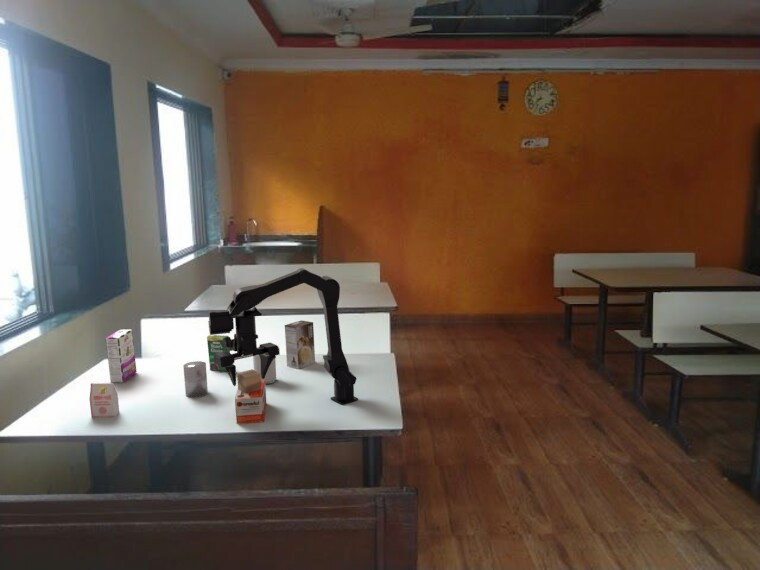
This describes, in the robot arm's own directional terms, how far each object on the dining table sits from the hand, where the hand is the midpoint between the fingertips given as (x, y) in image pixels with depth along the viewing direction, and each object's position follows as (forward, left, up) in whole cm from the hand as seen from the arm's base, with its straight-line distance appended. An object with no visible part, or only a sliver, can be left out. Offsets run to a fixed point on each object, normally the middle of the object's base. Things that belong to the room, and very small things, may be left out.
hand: (248, 382), depth 178 cm
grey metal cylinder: (+27, +6, -10) cm, 29 cm away
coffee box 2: (+31, -36, -10) cm, 49 cm away
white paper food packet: (+28, +34, -10) cm, 45 cm away
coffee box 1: (+45, -10, -10) cm, 47 cm away
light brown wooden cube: (0, 0, -2) cm, 2 cm away
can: (+23, -17, -10) cm, 30 cm away
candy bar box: (+60, +20, -10) cm, 64 cm away
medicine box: (0, -1, -10) cm, 11 cm away
